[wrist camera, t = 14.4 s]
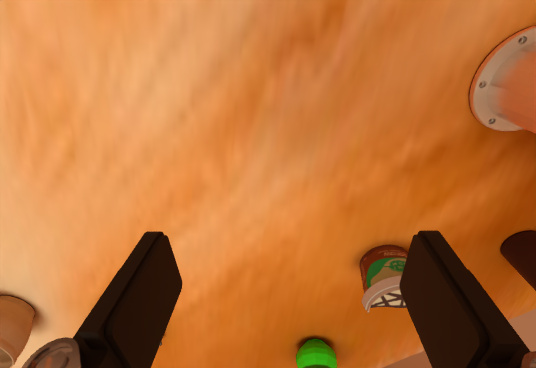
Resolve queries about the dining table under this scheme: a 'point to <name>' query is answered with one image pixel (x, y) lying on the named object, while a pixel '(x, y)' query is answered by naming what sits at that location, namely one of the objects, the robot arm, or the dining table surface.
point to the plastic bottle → (316, 355)
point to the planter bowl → (13, 328)
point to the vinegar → (522, 254)
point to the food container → (383, 276)
